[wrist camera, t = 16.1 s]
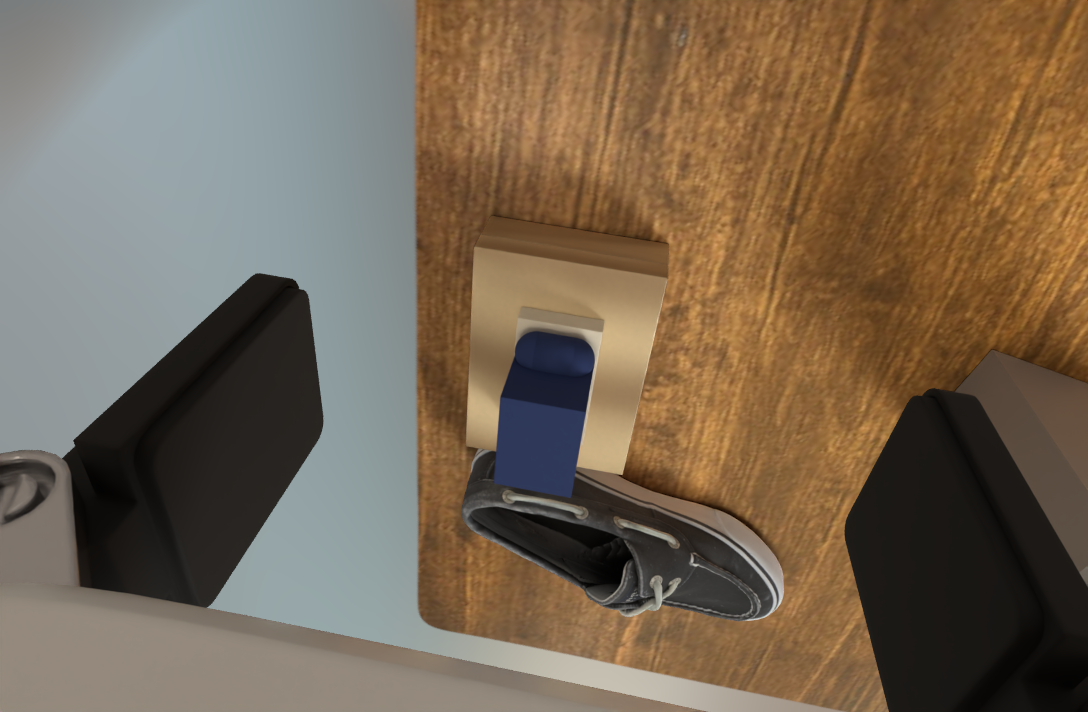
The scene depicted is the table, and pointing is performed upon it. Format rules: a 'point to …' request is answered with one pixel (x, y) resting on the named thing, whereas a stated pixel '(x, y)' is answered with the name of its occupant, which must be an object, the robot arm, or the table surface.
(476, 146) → the table surface
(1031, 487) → the perfume bottle
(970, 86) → the table surface
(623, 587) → the boat shoe
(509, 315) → the shoe shelf
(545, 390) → the high-top sneaker
